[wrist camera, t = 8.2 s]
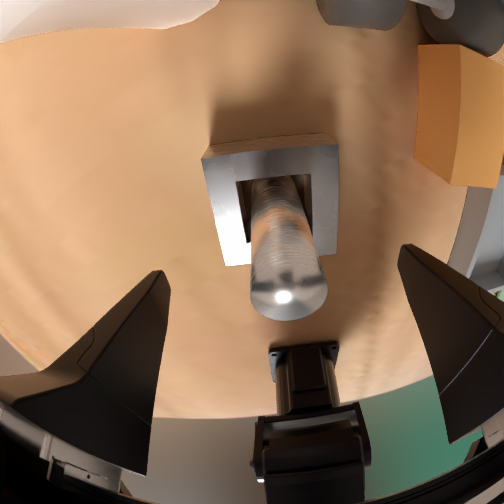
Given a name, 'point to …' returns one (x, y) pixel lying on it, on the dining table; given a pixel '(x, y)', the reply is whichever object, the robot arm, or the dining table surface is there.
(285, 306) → the pin
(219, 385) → the dining table surface
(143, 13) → the foam cup
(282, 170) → the pin bracket
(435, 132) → the block
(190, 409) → the dining table surface
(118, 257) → the dining table surface
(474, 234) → the tray
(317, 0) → the grey wheeled cart
